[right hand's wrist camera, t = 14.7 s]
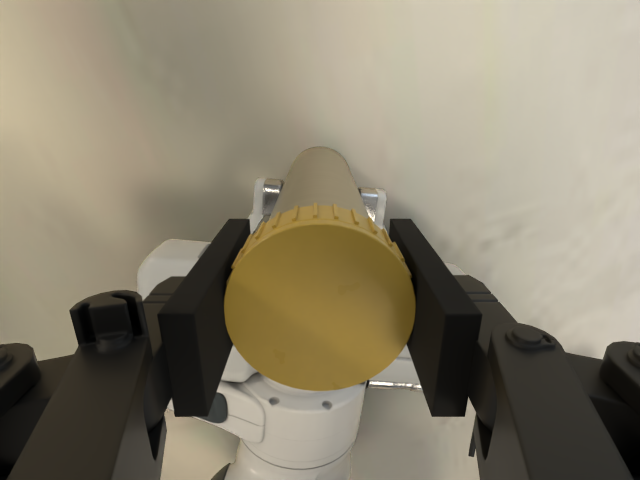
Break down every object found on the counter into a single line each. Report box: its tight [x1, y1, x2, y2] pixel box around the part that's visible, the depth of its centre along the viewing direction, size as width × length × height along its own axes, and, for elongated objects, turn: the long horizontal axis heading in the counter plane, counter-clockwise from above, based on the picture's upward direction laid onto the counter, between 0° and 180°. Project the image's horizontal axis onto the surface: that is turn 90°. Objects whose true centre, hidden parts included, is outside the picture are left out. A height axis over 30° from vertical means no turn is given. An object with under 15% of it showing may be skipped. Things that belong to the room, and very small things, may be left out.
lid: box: [224, 203, 416, 391], centre depth 11 cm, size 5×5×2 cm
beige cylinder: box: [268, 147, 369, 221], centre depth 19 cm, size 4×4×18 cm
